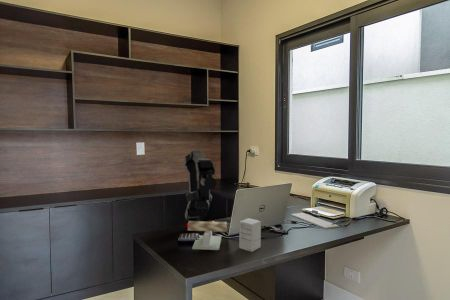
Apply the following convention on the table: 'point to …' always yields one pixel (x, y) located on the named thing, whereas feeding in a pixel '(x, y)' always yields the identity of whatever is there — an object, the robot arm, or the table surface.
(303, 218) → the grey flat block
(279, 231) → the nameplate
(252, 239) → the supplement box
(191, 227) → the maple bar
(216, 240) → the ridge stand
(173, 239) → the table surface
